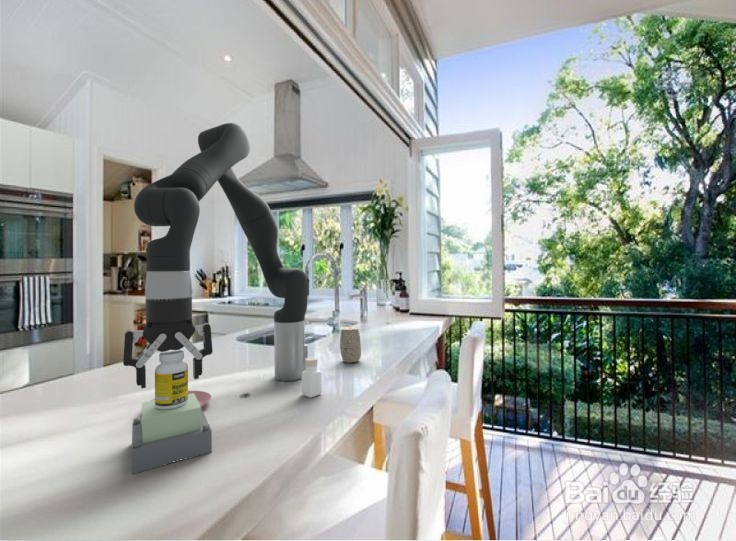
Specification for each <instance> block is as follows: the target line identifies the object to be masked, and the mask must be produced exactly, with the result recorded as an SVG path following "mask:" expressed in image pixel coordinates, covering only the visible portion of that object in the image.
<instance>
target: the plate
mask: <svg viewBox="0 0 736 541" xmlns="http://www.w3.org/2000/svg"><path fill="white" fill-rule="evenodd" d="M191 393H194V394H195V396H196V398H197V400H198V402H199V404H200V406H201V409H202V410H203V408H204V407H205V405H206V404H208V403H209V402H210V401H211V399H212V395H211V394H210V392H207V391H203V390H202V391H201V390H188V394H191ZM153 400H155V398H152V399H151V400H150V401H153Z"/></svg>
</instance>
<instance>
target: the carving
mask: <svg viewBox="0 0 736 541" xmlns="http://www.w3.org/2000/svg"><path fill="white" fill-rule="evenodd" d="M339 349H340V356H341V358H342V361H343V362H344V363H348V364H349V363H350V364H351V363H355V362H358V361H360V359H361V358H362V357H361V356H362V344H361V335H360V330H359V328H358V327H353V326H345V327H342V328H341V329H340V338H339Z"/></svg>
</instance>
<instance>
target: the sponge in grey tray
mask: <svg viewBox="0 0 736 541" xmlns="http://www.w3.org/2000/svg"><path fill="white" fill-rule="evenodd" d="M152 400H153V399H152ZM132 420H133V422H132V428H131V429H132V430H131V474H132V475H133V474H137V473H141V471H142V472H145V470H146V471H148V469H149V470H151V469H150V468H153V469H155V468H154V467H156V468H159V467H158V466H160V467H162V466H161V465H164V464H167V465H169V464H168V463H171V462H173V461H177V460H180V459H185V458H189V459H191V458H190V457H192V458H194V457H193V456H196V457H198V456H197V455H200V456H203V455H206V453H207V454H209V453H212V451H213V446H212V445H213V443H212V441H213V440H212V439H213V438H212V437H213V436H212V428H211V425H210V424H211V423H209V422H208V420H207V417H206V415H205V413H204V411H203V408H202V409H201V406H200V404H199V402H198V400H197V398H196V396H195V394H194V393H191V394H188V401H187V403H186V404H184V405H183V406H180V407H178V408H174V409H165V410H163V409H157V408H156V407H155V400H153V401H151V400H148V401H144V402H141V417H135V418H133V419H132ZM185 460H186V459H185ZM171 464H172V463H171ZM164 466H165V465H164Z"/></svg>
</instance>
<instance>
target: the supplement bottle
mask: <svg viewBox="0 0 736 541" xmlns="http://www.w3.org/2000/svg"><path fill="white" fill-rule="evenodd" d="M184 354H185V353H184V350H181V349H180V350H168V351H165V352H160V353H159V354H158V357H159V359H158V360H159V363H160V364H158V365H157V366H156V367H155V369H154V399H155V407H156V408H157V409H163V410H165V409H174V408H178V407H180V406H183V405H184V404H186V403H187V401H188V391H189V367H188V366H189V365H188V363H187V362H185V361H183V360H184V359H185V355H184Z"/></svg>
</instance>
